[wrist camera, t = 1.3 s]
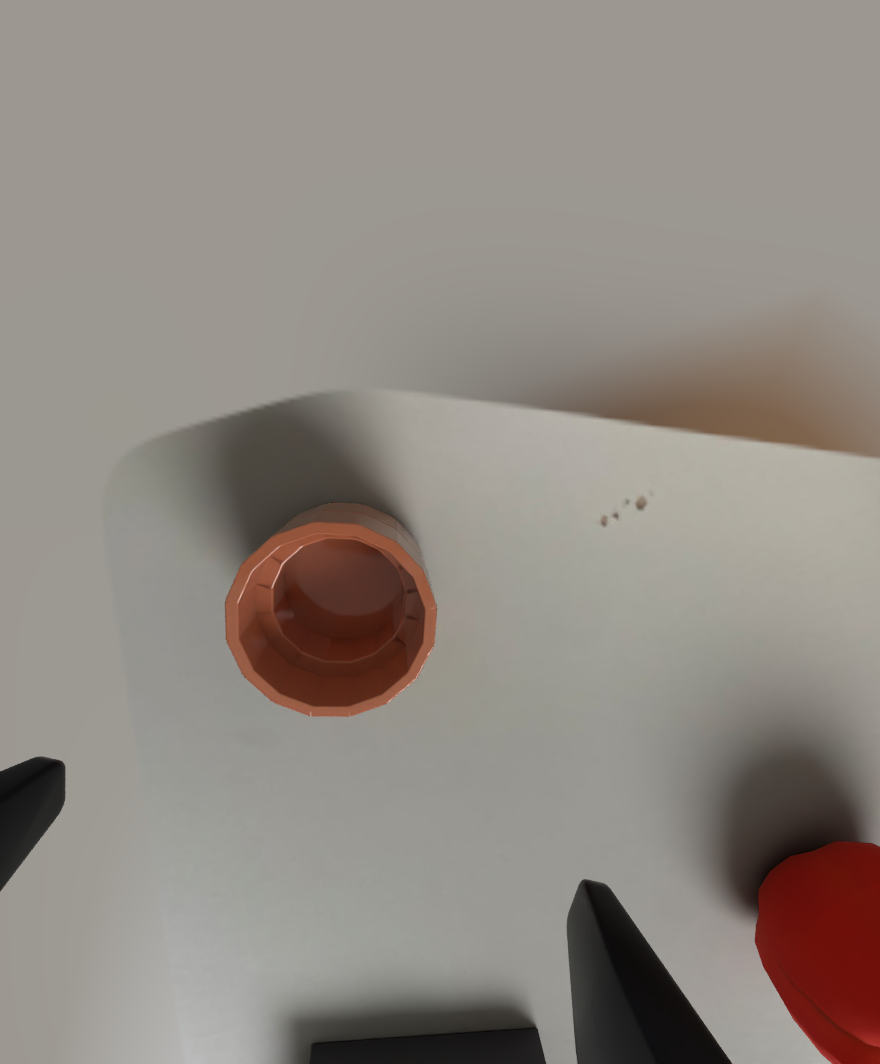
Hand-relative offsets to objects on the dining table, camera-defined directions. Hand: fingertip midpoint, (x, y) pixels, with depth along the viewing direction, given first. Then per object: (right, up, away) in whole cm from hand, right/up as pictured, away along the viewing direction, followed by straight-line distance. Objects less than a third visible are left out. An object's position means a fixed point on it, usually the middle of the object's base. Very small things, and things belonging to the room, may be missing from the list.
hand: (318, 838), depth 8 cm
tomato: (+22, -14, +18) cm, 31 cm away
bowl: (-2, +3, +11) cm, 12 cm away
